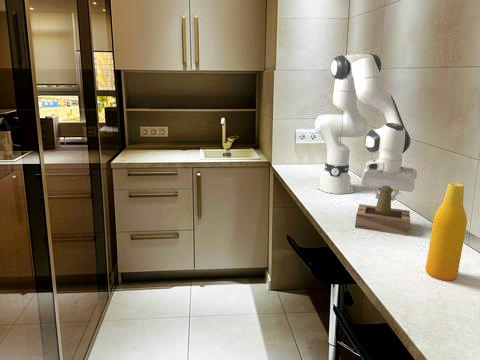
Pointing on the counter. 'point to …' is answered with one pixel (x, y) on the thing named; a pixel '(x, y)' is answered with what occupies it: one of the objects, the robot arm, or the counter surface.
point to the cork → (384, 200)
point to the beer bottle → (447, 235)
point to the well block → (383, 220)
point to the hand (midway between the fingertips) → (385, 199)
